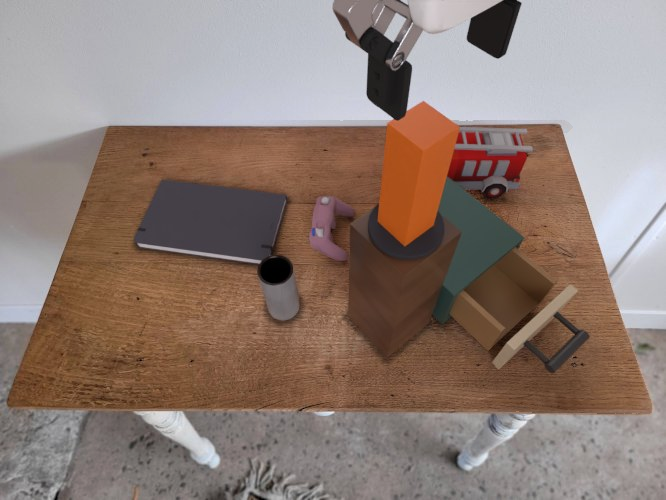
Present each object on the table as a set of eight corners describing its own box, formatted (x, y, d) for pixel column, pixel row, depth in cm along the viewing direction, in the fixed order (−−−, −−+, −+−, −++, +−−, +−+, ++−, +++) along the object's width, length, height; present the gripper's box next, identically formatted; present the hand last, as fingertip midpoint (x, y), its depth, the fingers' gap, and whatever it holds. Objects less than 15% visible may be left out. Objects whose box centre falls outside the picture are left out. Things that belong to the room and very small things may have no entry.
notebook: (287, 200, 79) (164, 185, 81) (286, 194, 78) (161, 179, 80) (268, 266, 72) (135, 247, 75) (267, 260, 71) (131, 241, 73)
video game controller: (332, 215, 79) (311, 189, 74) (357, 210, 77) (337, 183, 72) (323, 267, 74) (299, 242, 69) (349, 263, 72) (327, 237, 67)
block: (433, 225, 48) (460, 126, 37) (404, 247, 47) (423, 151, 36) (405, 201, 50) (423, 100, 39) (377, 221, 49) (387, 122, 38)
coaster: (459, 231, 48) (460, 228, 48) (404, 273, 46) (405, 270, 45) (406, 187, 52) (407, 183, 51) (352, 224, 49) (352, 220, 49)
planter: (304, 314, 68) (298, 278, 59) (273, 325, 67) (262, 290, 59) (294, 288, 70) (287, 249, 62) (264, 297, 69) (252, 260, 61)
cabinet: (506, 270, 71) (525, 237, 64) (442, 324, 67) (454, 295, 60) (435, 210, 78) (444, 173, 70) (371, 256, 73) (374, 222, 66)
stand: (429, 323, 67) (462, 231, 48) (386, 358, 64) (404, 276, 46) (389, 284, 70) (406, 185, 52) (347, 316, 68) (349, 223, 49)
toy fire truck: (398, 159, 84) (404, 114, 75) (507, 158, 83) (525, 113, 75) (402, 200, 79) (409, 157, 70) (518, 199, 78) (539, 155, 70)
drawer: (587, 338, 64) (611, 316, 59) (528, 397, 60) (547, 380, 55) (483, 250, 72) (495, 223, 66) (424, 297, 68) (431, 273, 62)
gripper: (416, -226, 15) (381, 168, 29) (711, -312, 20) (560, 51, 35) (272, -268, 18) (305, 104, 32) (561, -332, 24) (480, 7, 38)
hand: (437, 77), depth 33 cm, fingers open, 9 cm apart
